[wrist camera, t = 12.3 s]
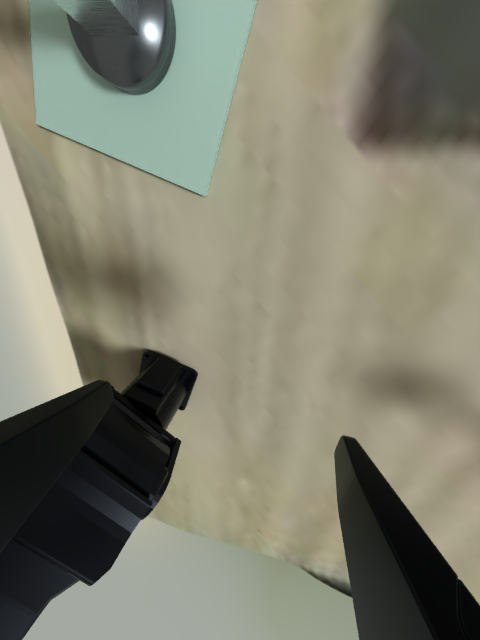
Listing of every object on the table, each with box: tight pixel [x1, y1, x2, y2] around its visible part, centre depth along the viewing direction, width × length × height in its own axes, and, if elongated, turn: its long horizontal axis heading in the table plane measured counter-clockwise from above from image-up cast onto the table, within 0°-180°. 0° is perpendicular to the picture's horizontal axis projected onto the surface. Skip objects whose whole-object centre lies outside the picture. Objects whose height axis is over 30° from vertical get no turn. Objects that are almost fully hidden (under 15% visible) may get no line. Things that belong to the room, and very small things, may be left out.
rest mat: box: [29, 0, 257, 196], centre depth 14 cm, size 14×14×1 cm
